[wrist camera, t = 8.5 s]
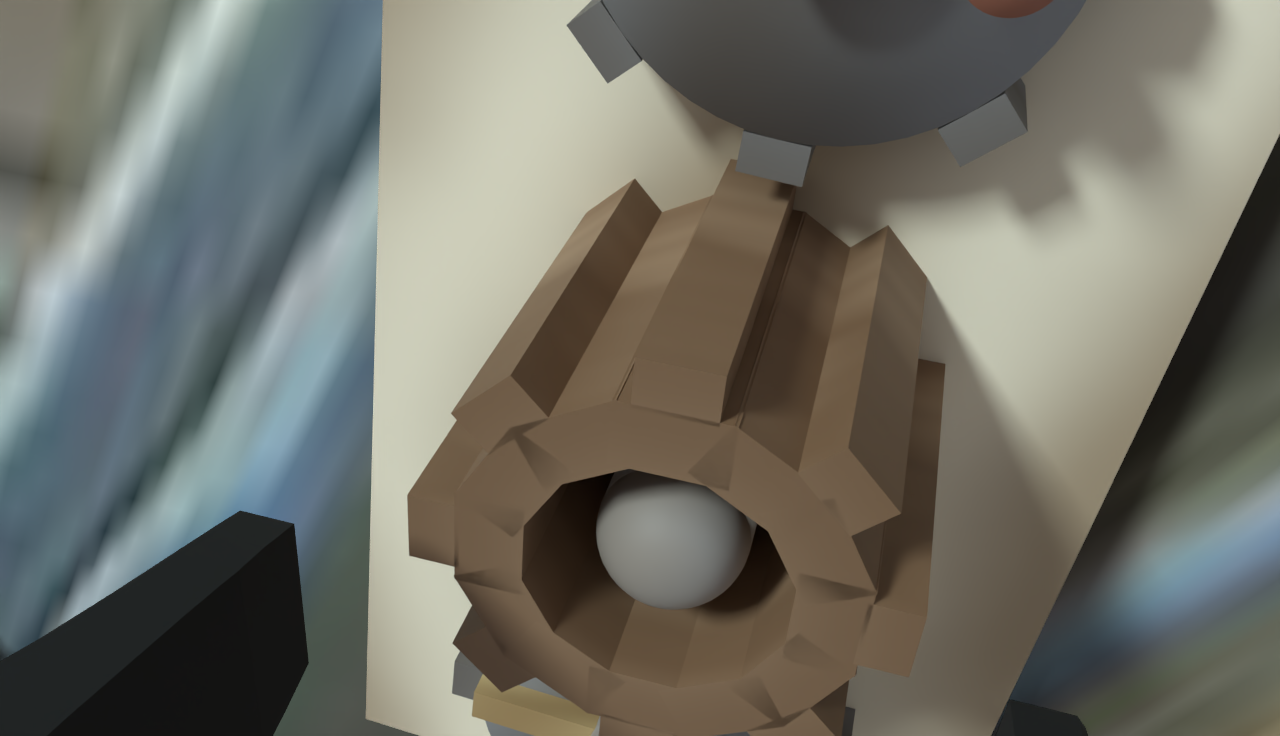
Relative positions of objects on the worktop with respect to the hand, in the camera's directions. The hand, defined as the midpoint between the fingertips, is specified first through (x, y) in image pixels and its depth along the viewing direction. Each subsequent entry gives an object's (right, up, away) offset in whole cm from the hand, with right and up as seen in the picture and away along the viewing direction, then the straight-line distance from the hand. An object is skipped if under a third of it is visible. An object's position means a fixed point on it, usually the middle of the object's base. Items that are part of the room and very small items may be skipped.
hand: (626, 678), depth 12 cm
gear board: (+2, +4, +6) cm, 8 cm away
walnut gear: (+2, +3, +5) cm, 6 cm away
